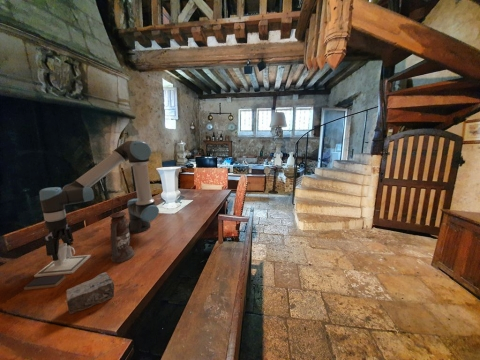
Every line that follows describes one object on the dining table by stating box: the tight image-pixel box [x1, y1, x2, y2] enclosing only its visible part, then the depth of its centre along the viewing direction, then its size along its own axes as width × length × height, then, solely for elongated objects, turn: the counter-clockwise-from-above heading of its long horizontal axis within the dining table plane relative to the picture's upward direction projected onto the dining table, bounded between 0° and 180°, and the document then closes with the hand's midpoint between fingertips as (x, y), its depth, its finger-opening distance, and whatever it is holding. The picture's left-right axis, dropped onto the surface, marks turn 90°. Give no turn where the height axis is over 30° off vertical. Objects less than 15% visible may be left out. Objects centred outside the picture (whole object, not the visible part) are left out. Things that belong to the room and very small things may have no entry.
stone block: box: [65, 271, 115, 315], centre depth 72 cm, size 14×9×8 cm, turn 135°
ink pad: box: [23, 274, 67, 291], centre depth 81 cm, size 12×6×2 cm, turn 100°
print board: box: [33, 254, 92, 278], centre depth 93 cm, size 16×14×1 cm
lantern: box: [109, 195, 135, 263], centre depth 98 cm, size 11×16×35 cm
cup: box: [50, 242, 76, 262], centre depth 92 cm, size 7×10×8 cm
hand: (63, 260), depth 92 cm, fingers closed on cup, 6 cm apart
